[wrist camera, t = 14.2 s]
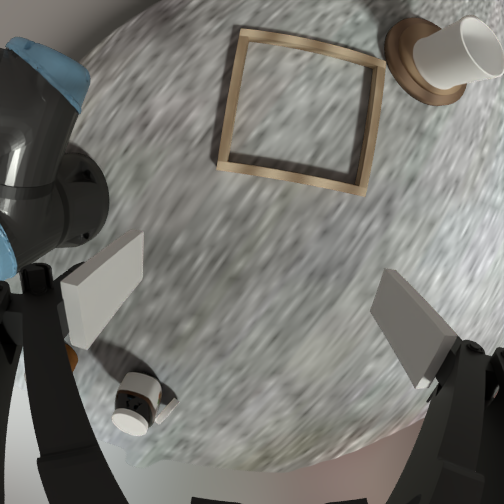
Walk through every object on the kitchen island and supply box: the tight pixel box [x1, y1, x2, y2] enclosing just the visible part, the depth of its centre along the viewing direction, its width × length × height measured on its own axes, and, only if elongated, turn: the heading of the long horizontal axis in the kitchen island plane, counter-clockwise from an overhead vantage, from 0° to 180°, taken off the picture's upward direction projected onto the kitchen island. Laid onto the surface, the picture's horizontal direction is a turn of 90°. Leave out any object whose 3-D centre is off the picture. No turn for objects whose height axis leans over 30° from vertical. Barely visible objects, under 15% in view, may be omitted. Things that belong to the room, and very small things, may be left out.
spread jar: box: [112, 371, 179, 436], centre depth 48 cm, size 12×11×12 cm
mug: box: [413, 15, 504, 89], centre depth 23 cm, size 12×8×12 cm
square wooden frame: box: [216, 29, 386, 197], centre depth 35 cm, size 20×20×2 cm
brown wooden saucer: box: [384, 18, 467, 106], centre depth 31 cm, size 15×15×3 cm
